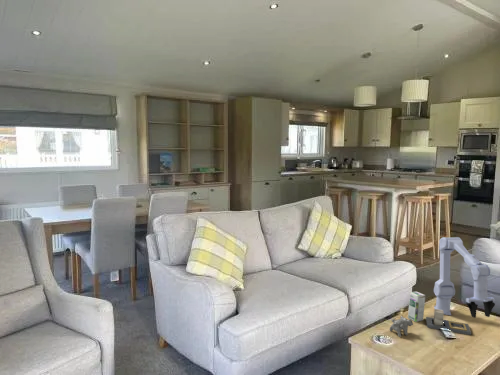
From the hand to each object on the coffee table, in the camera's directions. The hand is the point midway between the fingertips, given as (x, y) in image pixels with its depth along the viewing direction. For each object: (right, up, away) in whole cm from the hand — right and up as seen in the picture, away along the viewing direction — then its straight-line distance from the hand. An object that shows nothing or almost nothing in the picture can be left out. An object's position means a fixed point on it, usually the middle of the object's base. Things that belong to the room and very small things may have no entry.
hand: (480, 316), depth 187 cm
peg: (-15, -9, +13) cm, 21 cm away
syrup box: (-24, -8, +19) cm, 32 cm away
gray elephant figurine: (-37, -10, +4) cm, 39 cm away
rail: (-10, -9, +11) cm, 18 cm away
